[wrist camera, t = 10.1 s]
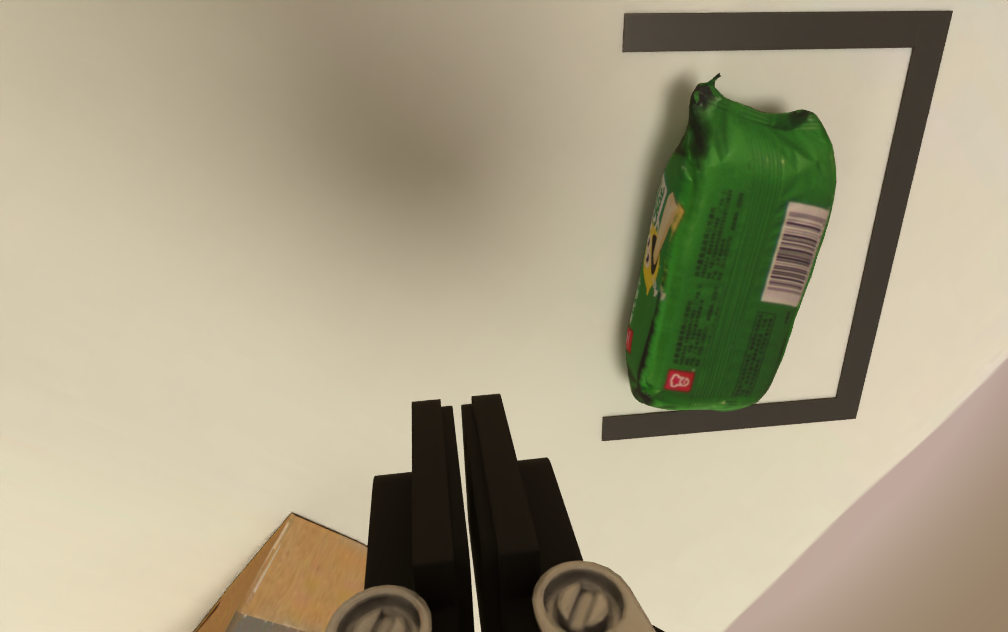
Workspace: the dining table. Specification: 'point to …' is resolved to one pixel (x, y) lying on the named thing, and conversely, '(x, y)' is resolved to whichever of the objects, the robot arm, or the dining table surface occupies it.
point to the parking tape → (928, 45)
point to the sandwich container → (291, 582)
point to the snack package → (728, 254)
